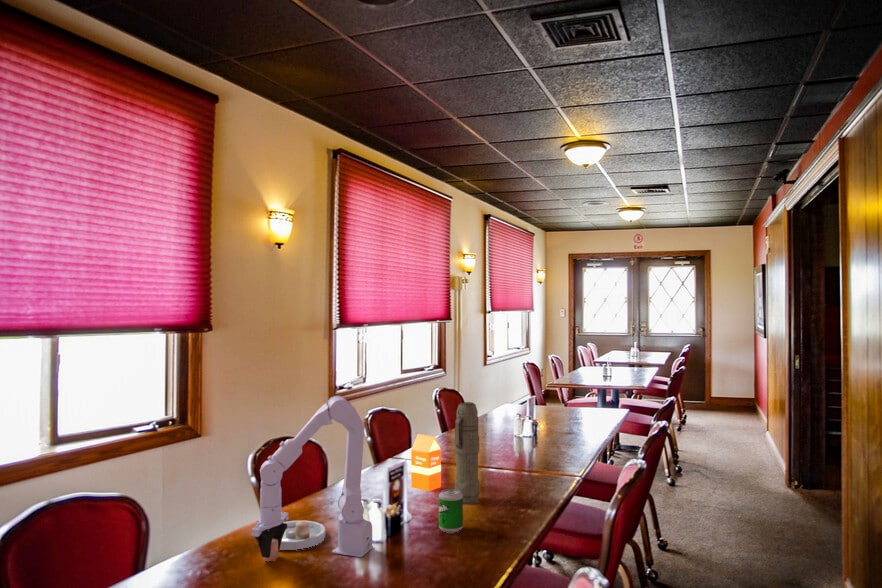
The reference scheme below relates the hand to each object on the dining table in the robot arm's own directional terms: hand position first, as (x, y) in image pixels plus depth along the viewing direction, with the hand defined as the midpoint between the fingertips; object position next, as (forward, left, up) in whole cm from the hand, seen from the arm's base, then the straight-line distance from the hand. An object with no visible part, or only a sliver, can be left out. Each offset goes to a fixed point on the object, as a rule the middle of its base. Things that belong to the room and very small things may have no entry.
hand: (270, 553), depth 176 cm
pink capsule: (0, 0, -1) cm, 1 cm away
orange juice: (-16, -79, -2) cm, 81 cm away
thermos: (-36, -68, -2) cm, 77 cm away
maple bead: (-3, -12, 0) cm, 13 cm away
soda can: (-40, -38, -2) cm, 55 cm away
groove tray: (+2, -15, -1) cm, 15 cm away
